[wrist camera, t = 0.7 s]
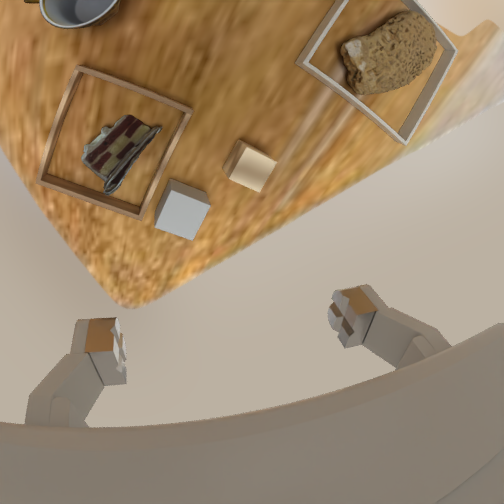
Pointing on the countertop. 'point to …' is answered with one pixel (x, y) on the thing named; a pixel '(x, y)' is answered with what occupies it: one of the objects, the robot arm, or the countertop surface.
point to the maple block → (248, 166)
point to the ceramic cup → (77, 12)
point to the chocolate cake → (117, 150)
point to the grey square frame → (406, 128)
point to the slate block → (181, 209)
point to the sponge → (390, 54)
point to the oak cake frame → (90, 194)
